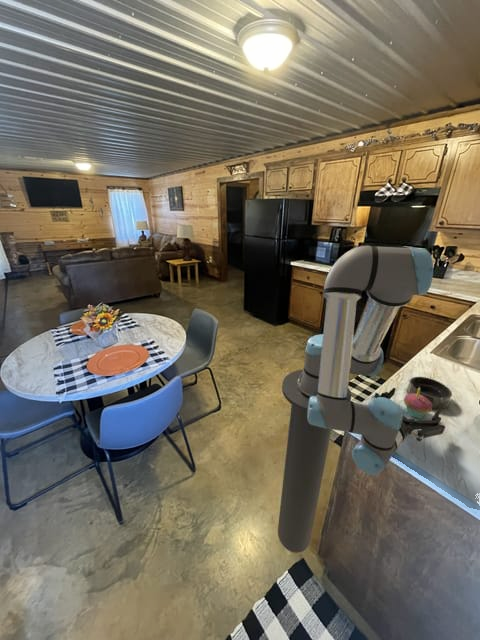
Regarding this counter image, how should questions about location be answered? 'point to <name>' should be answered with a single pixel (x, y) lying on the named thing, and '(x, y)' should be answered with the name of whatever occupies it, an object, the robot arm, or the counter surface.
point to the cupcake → (417, 404)
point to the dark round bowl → (430, 391)
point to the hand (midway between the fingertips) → (415, 401)
